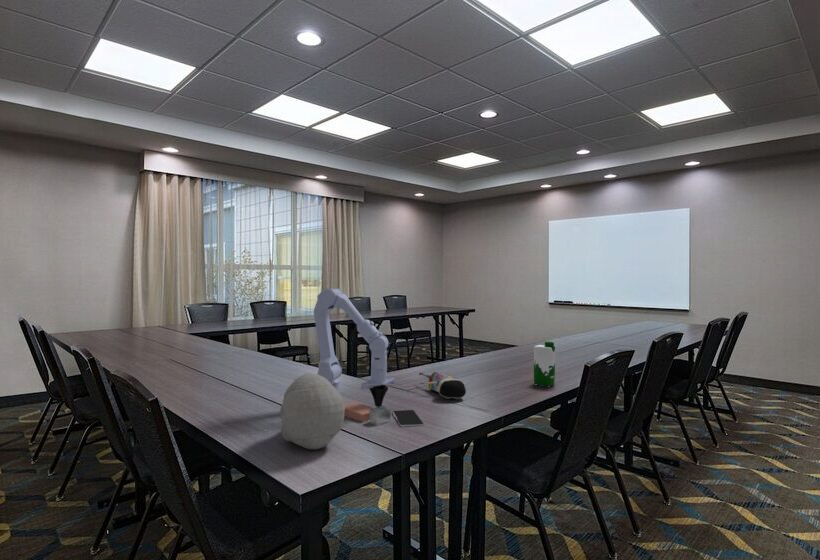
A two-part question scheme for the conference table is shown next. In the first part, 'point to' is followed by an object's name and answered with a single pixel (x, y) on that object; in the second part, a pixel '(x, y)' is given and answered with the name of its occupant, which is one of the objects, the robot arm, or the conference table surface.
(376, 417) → the grey rectangular block
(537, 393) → the conference table surface
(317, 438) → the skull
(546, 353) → the milk carton
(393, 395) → the conference table surface
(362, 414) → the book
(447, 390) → the toy
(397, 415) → the smartphone
